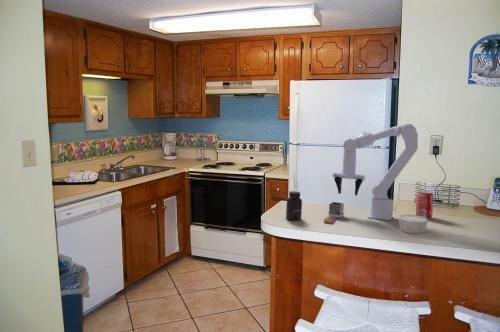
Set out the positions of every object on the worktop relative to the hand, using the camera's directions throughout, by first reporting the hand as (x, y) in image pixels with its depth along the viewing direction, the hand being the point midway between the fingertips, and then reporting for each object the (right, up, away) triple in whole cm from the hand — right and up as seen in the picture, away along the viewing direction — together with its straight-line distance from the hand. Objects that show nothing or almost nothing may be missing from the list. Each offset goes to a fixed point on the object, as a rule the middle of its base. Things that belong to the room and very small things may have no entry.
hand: (347, 194), depth 192 cm
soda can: (+34, -11, -2) cm, 36 cm away
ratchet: (-8, -10, -8) cm, 15 cm away
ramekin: (+21, -14, -23) cm, 34 cm away
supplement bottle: (-26, -10, -9) cm, 29 cm away
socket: (-6, -8, -4) cm, 11 cm away
